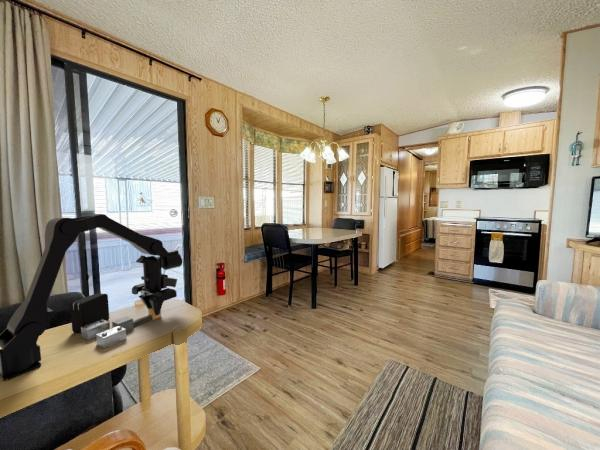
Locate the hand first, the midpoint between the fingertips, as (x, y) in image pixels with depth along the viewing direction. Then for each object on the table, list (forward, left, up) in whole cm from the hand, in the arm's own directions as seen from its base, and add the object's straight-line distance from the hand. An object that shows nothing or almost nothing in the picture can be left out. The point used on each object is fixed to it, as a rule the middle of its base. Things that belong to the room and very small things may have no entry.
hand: (155, 314), depth 93 cm
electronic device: (-14, +13, -2) cm, 19 cm away
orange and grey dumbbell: (-6, 0, -1) cm, 7 cm away
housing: (-16, 0, -1) cm, 16 cm away
